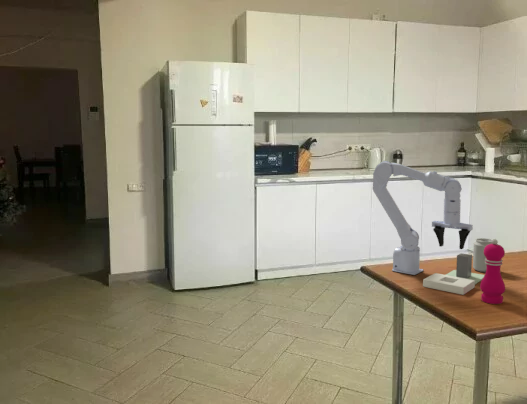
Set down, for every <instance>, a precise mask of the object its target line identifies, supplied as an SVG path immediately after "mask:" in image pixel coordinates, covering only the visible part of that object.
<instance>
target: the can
mask: <svg viewBox="0 0 527 404" xmlns="http://www.w3.org/2000/svg"><path fill="white" fill-rule="evenodd" d="M492 240H493V239H492V238H491V239H490V238H483V237H482V238H480V237H479V238H476V239H475V241H474V243H473V255H472V268H473V269H474V270H475V271H476V272H479V273H480V272H481V273H486V268H487V267H486V263H485V259H486V257H485V255H484V248H485V247H486V246H487V245H489V244H492V242H491V241H492Z"/></svg>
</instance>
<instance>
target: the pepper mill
mask: <svg viewBox="0 0 527 404" xmlns="http://www.w3.org/2000/svg"><path fill="white" fill-rule="evenodd" d="M491 240H492V241H491V242H492V244H489V245H487V246H486V247H485V248H484V255H485V257H486V259H485V263H486V267H487V268H486V272H484V274H483V275H484V277H483V279H482V280H481V281H480V284H479V289H480V291H481V292H482V293H481V295H480V299H481V301H482V302H483V303H487V304H491V305H499V304H502V303H503V302H504V295H503V294H504V292H506V284H505V282H504V279H503V278H502V277H503V276H502V274H501V266H503V258H504V257H505V254H506V253H505V252H506V251H505V249H504V247H503V245H500V244H498V243H499V241H498V240H497V239H496V238H495V239H491Z"/></svg>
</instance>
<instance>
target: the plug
mask: <svg viewBox="0 0 527 404" xmlns="http://www.w3.org/2000/svg"><path fill="white" fill-rule="evenodd" d="M472 268H473V255H472V254H469V253H462V252H461V253H459V254H457V255H456V269H455V270H456V277H461V278H466V279H468V278H469V277H471V273H472Z"/></svg>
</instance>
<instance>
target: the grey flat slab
mask: <svg viewBox="0 0 527 404" xmlns="http://www.w3.org/2000/svg"><path fill="white" fill-rule="evenodd" d="M422 280H423V281H422V287H423V288H424V287H425V288H429V289H434V290H438V291H442V292H448V293H452V294H457V295H463V296H464V295H465V294H467V293H468V292H470V291H471V290H473V289H474V288H475V287H476V286H475V285H476V284H475V280H470V279H465V278H459V277H454V276H449V275H446V274H442V273H437V272H434V273H433V274H431V275H429V276H426V278H423V279H422Z"/></svg>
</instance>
